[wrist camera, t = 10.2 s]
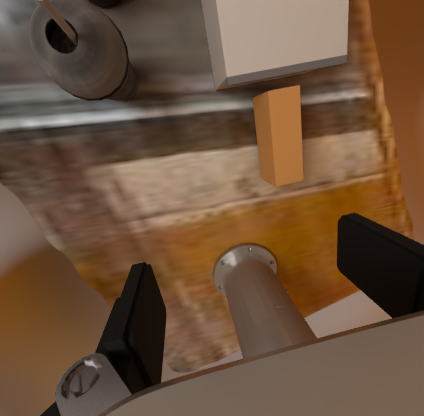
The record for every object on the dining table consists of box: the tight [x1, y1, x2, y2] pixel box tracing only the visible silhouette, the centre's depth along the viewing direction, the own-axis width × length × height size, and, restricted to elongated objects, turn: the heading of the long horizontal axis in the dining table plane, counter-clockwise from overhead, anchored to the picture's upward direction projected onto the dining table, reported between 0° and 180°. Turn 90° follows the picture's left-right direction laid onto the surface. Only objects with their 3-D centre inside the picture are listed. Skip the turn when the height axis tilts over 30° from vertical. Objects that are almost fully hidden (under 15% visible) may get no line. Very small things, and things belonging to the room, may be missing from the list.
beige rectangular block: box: [201, 0, 349, 90], centre depth 26 cm, size 14×13×8 cm
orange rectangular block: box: [253, 85, 303, 187], centre depth 31 cm, size 4×12×6 cm, turn 11°
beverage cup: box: [29, 0, 137, 101], centre depth 20 cm, size 7×7×20 cm
